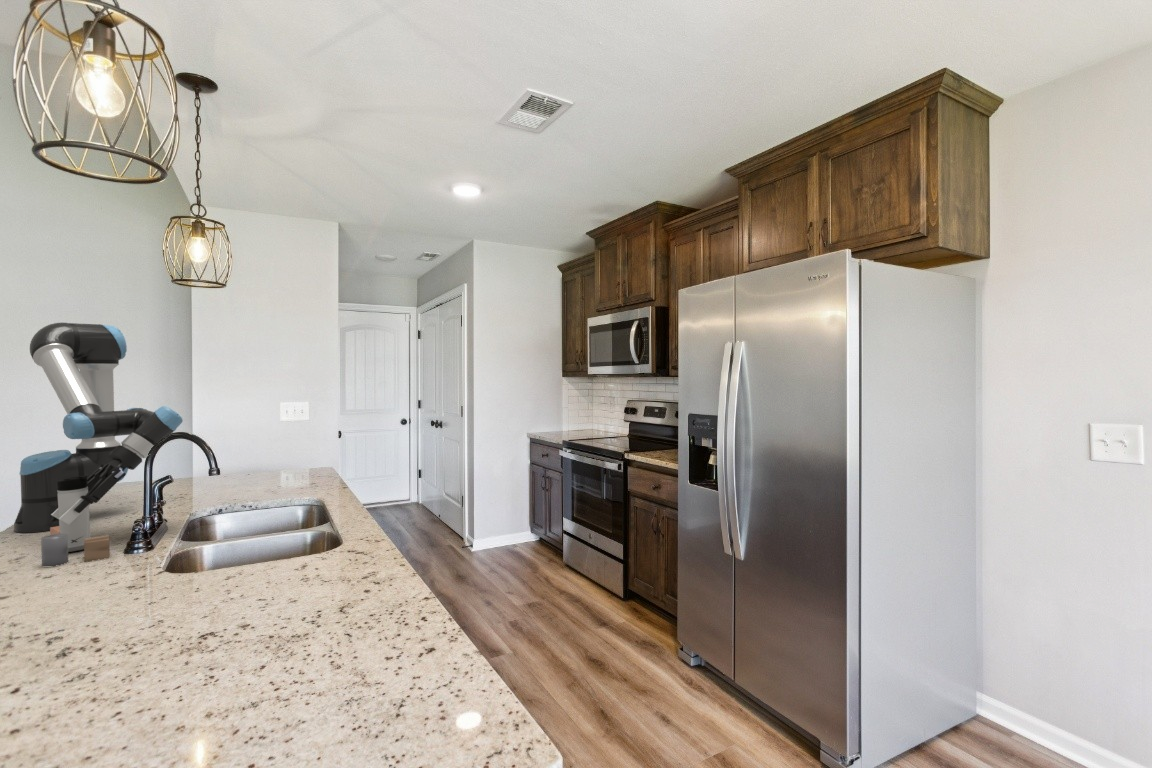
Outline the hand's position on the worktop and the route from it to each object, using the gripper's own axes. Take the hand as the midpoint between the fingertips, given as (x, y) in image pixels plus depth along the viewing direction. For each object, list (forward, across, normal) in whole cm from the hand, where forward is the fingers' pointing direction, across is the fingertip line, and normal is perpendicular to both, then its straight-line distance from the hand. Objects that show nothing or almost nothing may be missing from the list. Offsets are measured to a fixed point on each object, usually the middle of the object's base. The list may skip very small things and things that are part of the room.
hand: (60, 519), depth 153 cm
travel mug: (+4, 0, -9) cm, 9 cm away
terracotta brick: (+4, +13, -9) cm, 17 cm away
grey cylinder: (+9, -10, -4) cm, 14 cm away
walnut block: (+3, -13, -10) cm, 16 cm away
